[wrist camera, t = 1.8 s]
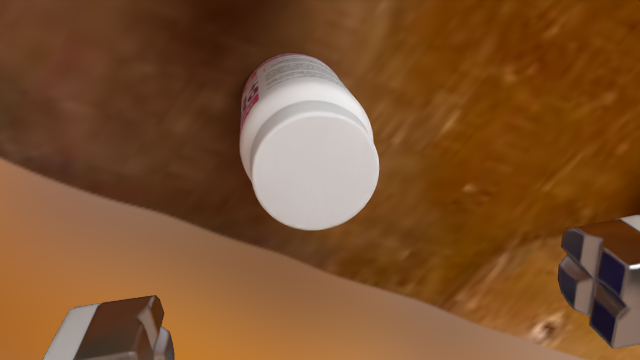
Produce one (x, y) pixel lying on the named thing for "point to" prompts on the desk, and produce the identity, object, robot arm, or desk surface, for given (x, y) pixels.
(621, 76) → the desk surface
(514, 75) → the desk surface
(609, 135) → the desk surface
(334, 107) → the pill bottle
